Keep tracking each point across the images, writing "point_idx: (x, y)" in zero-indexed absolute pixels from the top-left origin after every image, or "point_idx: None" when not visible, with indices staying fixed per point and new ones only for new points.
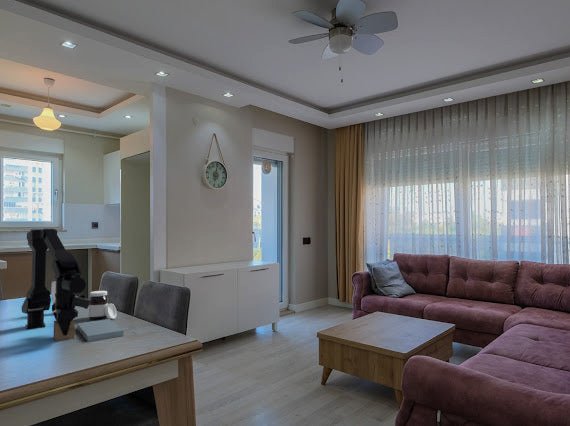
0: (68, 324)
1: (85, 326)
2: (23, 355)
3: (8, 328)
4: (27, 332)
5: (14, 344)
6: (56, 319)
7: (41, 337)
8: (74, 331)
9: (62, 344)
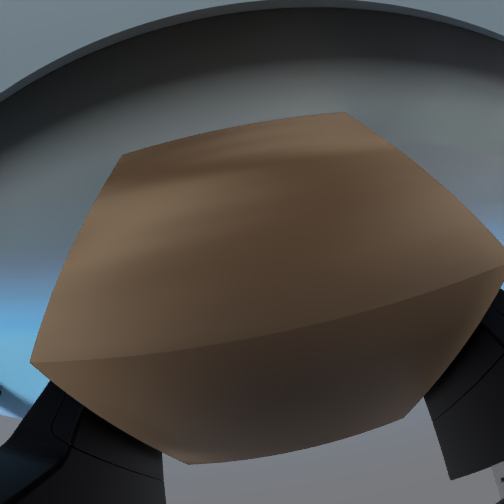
0: (501, 311)
1: (5, 9)
2: None
3: (4, 411)
4: (41, 392)
5: None
6: (162, 470)
7: None
8: (392, 146)
9: None
